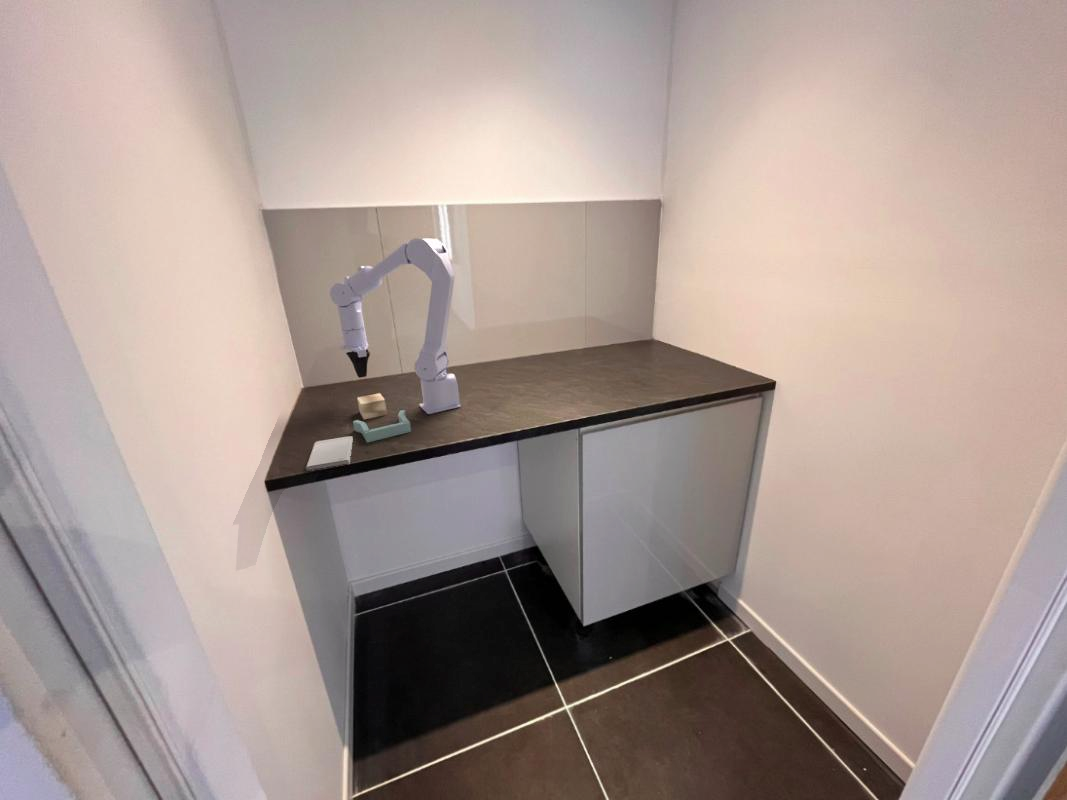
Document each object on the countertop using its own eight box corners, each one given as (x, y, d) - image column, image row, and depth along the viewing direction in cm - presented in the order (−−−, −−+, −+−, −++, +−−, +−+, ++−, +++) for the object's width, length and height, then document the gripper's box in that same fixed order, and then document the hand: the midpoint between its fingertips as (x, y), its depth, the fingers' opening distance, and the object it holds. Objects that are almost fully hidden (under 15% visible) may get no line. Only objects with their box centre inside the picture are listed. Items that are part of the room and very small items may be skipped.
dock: (405, 418, 110) (404, 409, 109) (416, 430, 103) (414, 421, 102) (354, 430, 104) (352, 420, 103) (361, 444, 96) (359, 434, 96)
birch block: (382, 408, 118) (379, 393, 116) (387, 415, 113) (384, 399, 111) (360, 412, 115) (357, 397, 113) (364, 420, 110) (361, 404, 108)
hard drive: (348, 459, 88) (352, 435, 99) (305, 466, 85) (314, 441, 96) (350, 466, 88) (353, 441, 99) (307, 473, 86) (315, 447, 97)
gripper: (333, 326, 116) (342, 372, 121) (341, 335, 104) (351, 386, 109) (360, 323, 119) (368, 368, 124) (370, 331, 108) (379, 381, 113)
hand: (362, 376), depth 117 cm, fingers closed
